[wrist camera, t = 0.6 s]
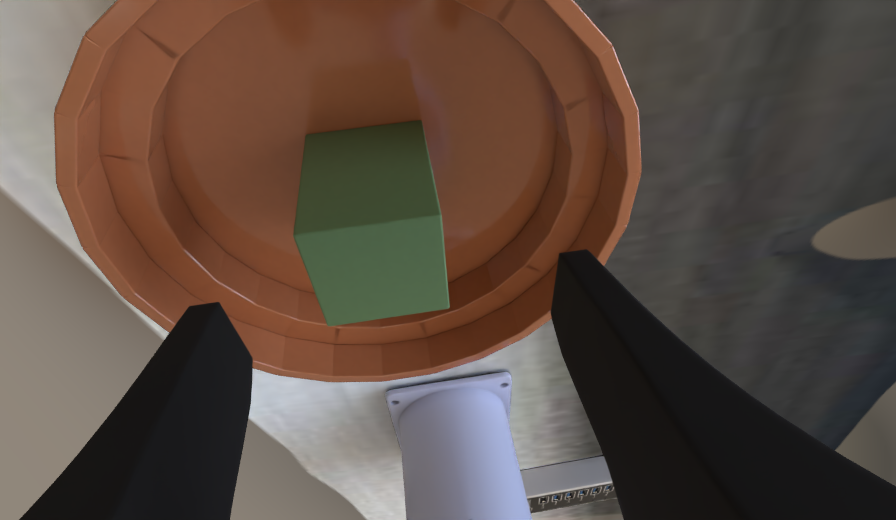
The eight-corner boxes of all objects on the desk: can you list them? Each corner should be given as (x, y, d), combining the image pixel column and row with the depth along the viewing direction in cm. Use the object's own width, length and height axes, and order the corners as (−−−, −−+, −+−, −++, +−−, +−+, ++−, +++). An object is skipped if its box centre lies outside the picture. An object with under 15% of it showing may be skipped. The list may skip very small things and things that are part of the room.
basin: (568, 287, 26) (594, 348, 23) (228, 337, 25) (212, 408, 22) (644, -148, 13) (722, -127, 11) (-40, -81, 12) (-154, -39, 10)
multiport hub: (622, 470, 47) (631, 495, 45) (508, 491, 46) (514, 517, 45) (630, 450, 43) (641, 477, 42) (509, 472, 43) (515, 500, 41)
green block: (431, 209, 21) (450, 309, 17) (331, 223, 20) (327, 327, 17) (421, 119, 18) (441, 215, 14) (304, 133, 17) (292, 235, 14)
